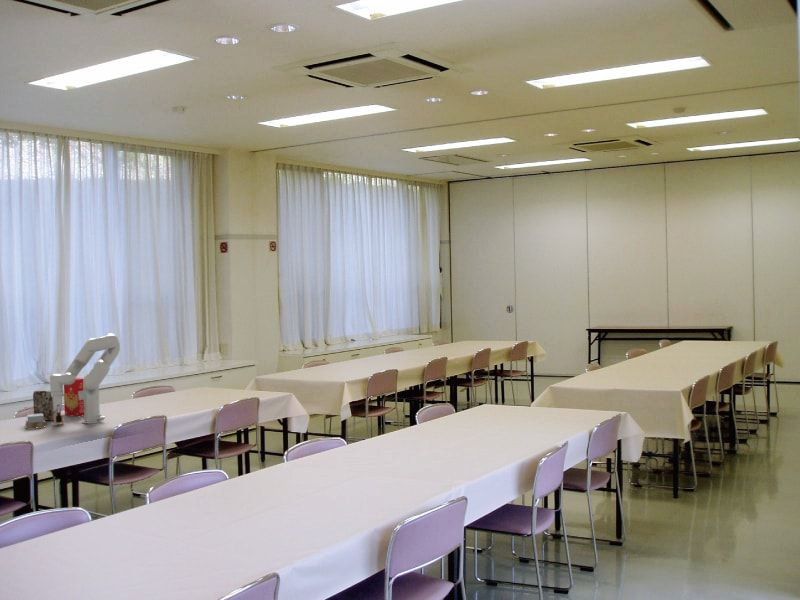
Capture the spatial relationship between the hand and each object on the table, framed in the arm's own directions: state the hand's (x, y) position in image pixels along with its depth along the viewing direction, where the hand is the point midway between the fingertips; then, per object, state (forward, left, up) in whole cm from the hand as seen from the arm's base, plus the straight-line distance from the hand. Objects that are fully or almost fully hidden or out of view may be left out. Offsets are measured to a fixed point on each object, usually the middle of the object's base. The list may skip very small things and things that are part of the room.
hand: (58, 421), depth 520 cm
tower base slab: (+11, +8, -3) cm, 14 cm away
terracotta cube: (0, 0, -1) cm, 1 cm away
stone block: (+19, -12, -2) cm, 22 cm away
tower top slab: (+11, +9, +1) cm, 14 cm away
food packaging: (+11, -32, -2) cm, 34 cm away
